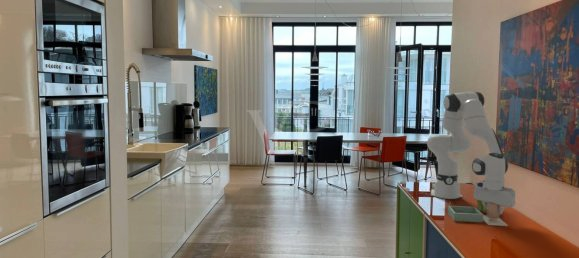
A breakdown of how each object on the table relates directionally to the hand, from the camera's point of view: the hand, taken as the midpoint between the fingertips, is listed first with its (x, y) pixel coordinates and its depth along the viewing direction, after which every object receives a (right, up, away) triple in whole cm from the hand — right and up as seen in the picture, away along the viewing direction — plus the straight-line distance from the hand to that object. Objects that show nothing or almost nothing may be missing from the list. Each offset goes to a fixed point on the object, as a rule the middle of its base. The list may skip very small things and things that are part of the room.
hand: (493, 211), depth 215 cm
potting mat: (0, -5, 0) cm, 5 cm away
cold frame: (-12, -4, +5) cm, 14 cm away
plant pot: (+4, -3, +18) cm, 19 cm away
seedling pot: (0, -3, 0) cm, 3 cm away
